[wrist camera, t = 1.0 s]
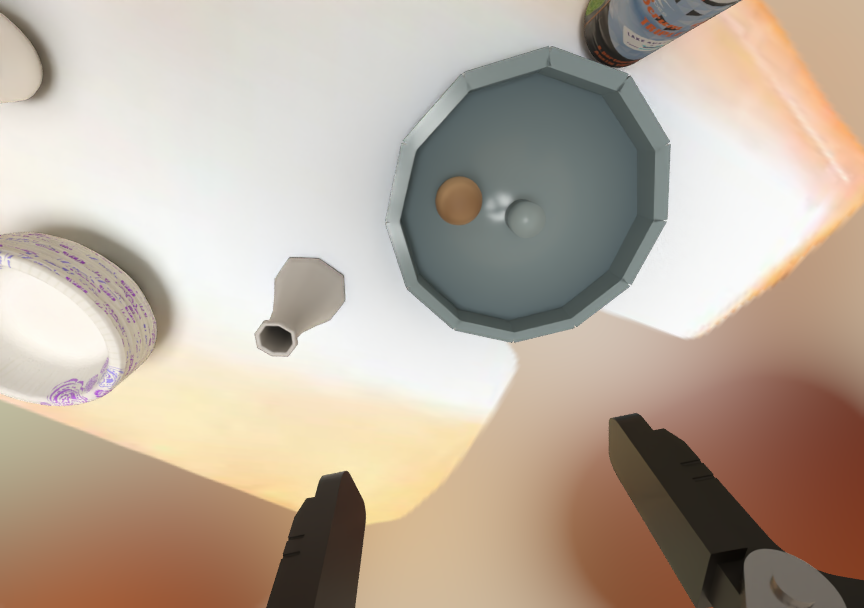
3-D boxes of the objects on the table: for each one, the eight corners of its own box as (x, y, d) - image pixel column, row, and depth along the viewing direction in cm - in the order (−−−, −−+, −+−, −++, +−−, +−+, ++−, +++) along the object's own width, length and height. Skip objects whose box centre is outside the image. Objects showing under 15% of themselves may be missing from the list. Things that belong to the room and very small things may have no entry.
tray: (355, 111, 28) (347, 107, 25) (645, 22, 27) (676, 6, 24) (429, 345, 39) (430, 363, 36) (642, 292, 37) (663, 306, 34)
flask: (355, 269, 35) (333, 315, 26) (336, 328, 37) (311, 387, 28) (282, 245, 33) (233, 284, 24) (269, 307, 36) (220, 363, 27)
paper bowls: (142, 381, 39) (82, 435, 32) (-10, 305, 35) (-121, 348, 27) (204, 290, 35) (149, 329, 28) (38, 187, 30) (-80, 201, 23)
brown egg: (429, 181, 30) (431, 186, 27) (473, 168, 30) (481, 172, 26) (440, 225, 32) (443, 235, 28) (481, 213, 32) (490, 222, 28)
